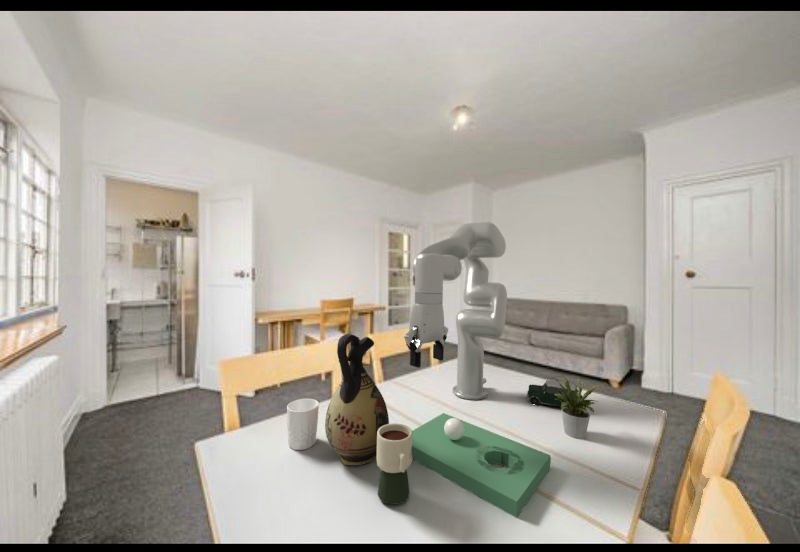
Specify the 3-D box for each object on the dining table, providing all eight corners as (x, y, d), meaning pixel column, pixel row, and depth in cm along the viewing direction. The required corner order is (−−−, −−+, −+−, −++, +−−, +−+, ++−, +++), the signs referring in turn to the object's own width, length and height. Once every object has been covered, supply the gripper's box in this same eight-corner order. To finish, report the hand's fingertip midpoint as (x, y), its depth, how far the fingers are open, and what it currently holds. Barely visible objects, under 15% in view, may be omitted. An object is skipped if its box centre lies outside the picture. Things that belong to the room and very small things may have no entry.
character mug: (420, 512, 57) (422, 443, 57) (384, 522, 54) (385, 450, 54) (400, 475, 67) (402, 416, 67) (369, 482, 65) (370, 421, 64)
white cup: (309, 431, 84) (309, 396, 84) (323, 443, 79) (324, 405, 79) (281, 442, 79) (281, 404, 79) (294, 455, 73) (295, 414, 73)
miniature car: (527, 395, 114) (528, 374, 114) (583, 405, 106) (583, 382, 106) (525, 404, 106) (526, 381, 106) (585, 416, 98) (586, 391, 98)
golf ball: (450, 431, 80) (451, 412, 80) (467, 438, 77) (468, 419, 77) (440, 438, 77) (440, 419, 77) (457, 446, 73) (457, 426, 73)
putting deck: (397, 450, 76) (398, 438, 76) (443, 422, 91) (443, 413, 91) (516, 517, 56) (516, 501, 56) (550, 468, 71) (550, 455, 71)
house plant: (535, 432, 87) (536, 375, 86) (550, 416, 97) (551, 365, 97) (593, 453, 77) (595, 389, 77) (603, 433, 87) (605, 376, 87)
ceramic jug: (350, 431, 85) (352, 325, 85) (398, 447, 78) (401, 331, 77) (305, 465, 70) (307, 335, 69) (360, 488, 63) (363, 344, 62)
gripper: (437, 297, 91) (435, 354, 91) (396, 299, 78) (394, 366, 78) (458, 299, 85) (456, 359, 85) (418, 302, 73) (416, 373, 73)
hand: (427, 362), depth 82 cm, fingers open, 9 cm apart
